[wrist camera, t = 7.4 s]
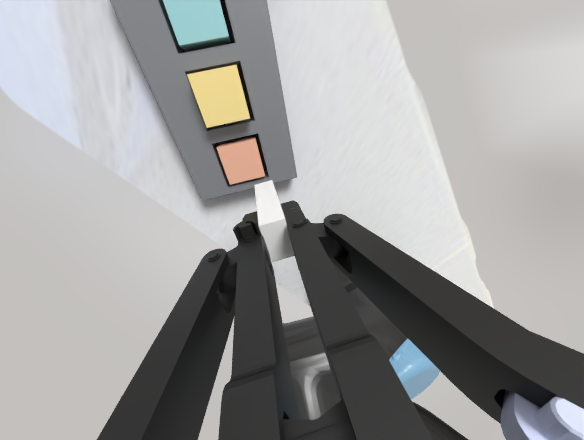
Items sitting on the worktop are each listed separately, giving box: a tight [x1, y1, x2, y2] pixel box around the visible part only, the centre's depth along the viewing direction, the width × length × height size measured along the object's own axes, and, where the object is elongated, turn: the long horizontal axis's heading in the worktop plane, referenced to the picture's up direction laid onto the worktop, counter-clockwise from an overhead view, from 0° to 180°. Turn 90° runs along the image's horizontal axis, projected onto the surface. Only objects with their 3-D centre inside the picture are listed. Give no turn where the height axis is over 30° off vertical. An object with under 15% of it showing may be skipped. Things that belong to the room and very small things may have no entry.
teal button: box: [163, 0, 231, 51], centre depth 21 cm, size 5×5×3 cm
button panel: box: [110, 0, 297, 201], centre depth 25 cm, size 23×14×3 cm, turn 10°
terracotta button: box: [217, 135, 265, 185], centre depth 29 cm, size 5×5×3 cm
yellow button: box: [187, 65, 250, 128], centre depth 23 cm, size 5×5×3 cm
